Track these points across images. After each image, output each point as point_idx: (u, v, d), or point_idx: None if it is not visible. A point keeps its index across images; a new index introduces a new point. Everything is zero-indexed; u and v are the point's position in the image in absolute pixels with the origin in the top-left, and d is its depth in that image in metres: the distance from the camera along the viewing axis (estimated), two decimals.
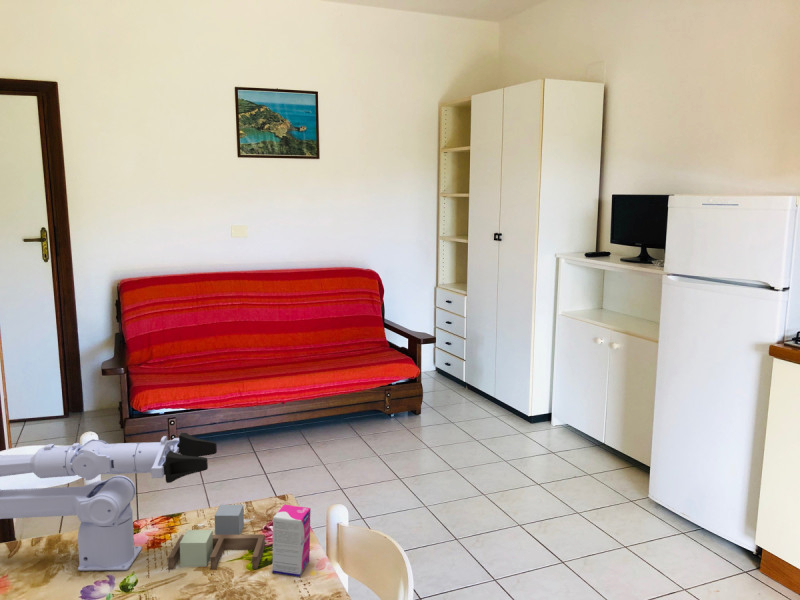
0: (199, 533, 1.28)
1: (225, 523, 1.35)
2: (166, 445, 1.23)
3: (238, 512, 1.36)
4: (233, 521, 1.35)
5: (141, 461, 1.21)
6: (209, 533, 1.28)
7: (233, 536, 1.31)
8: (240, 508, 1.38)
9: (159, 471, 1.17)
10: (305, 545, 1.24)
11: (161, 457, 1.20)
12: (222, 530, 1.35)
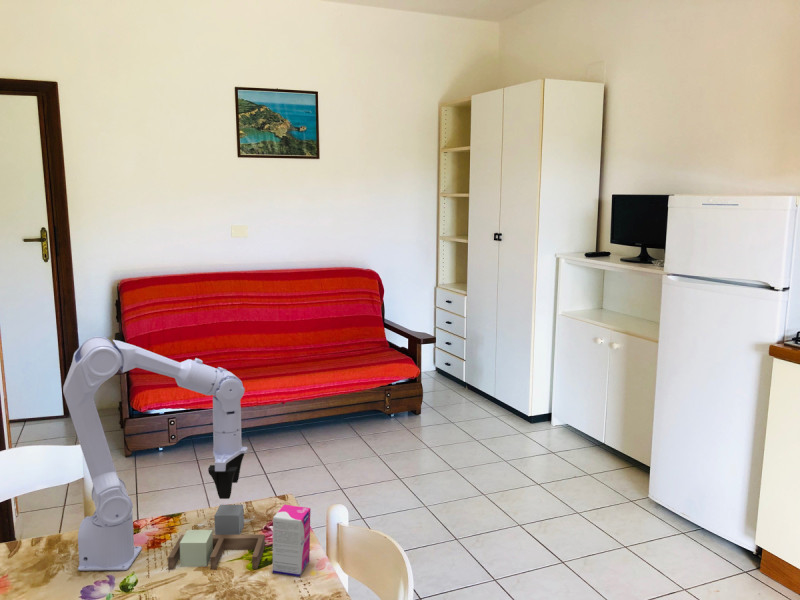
0: (199, 533, 1.28)
1: (225, 523, 1.35)
2: None
3: (238, 512, 1.36)
4: (233, 521, 1.35)
5: (226, 438, 1.32)
6: (209, 533, 1.28)
7: (233, 536, 1.31)
8: (240, 508, 1.38)
9: (221, 469, 1.28)
10: (305, 545, 1.24)
11: None
12: (222, 530, 1.35)
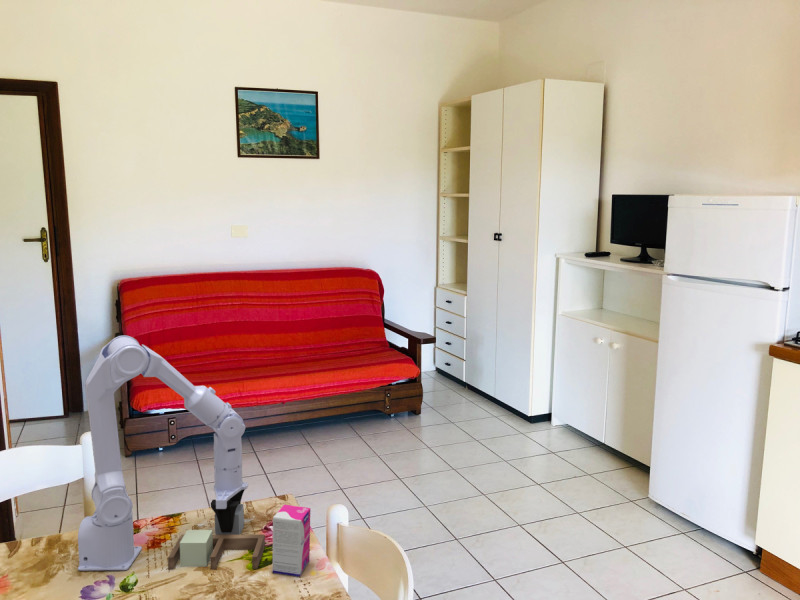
0: (199, 533, 1.28)
1: None
2: None
3: (238, 511, 1.36)
4: None
5: (227, 475, 1.33)
6: (209, 533, 1.28)
7: (233, 536, 1.31)
8: (240, 507, 1.38)
9: (222, 506, 1.30)
10: (305, 545, 1.24)
11: None
12: None
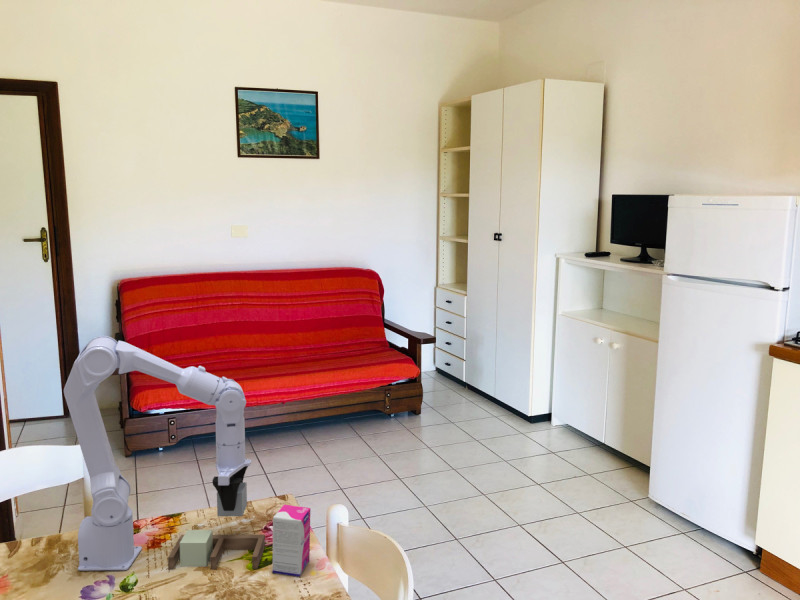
0: (199, 533, 1.28)
1: None
2: None
3: (241, 490, 1.31)
4: (236, 498, 1.30)
5: (229, 451, 1.28)
6: (209, 533, 1.28)
7: (233, 536, 1.31)
8: (243, 486, 1.33)
9: (225, 483, 1.24)
10: (305, 545, 1.24)
11: None
12: None
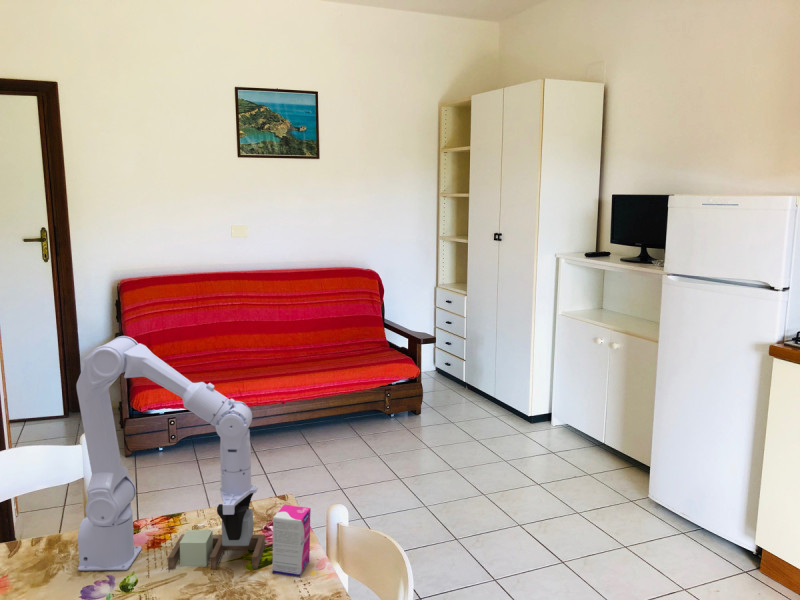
0: (199, 533, 1.28)
1: None
2: None
3: (247, 517, 1.25)
4: (242, 527, 1.24)
5: (235, 478, 1.22)
6: (209, 533, 1.28)
7: None
8: (249, 513, 1.27)
9: (229, 512, 1.18)
10: (305, 545, 1.24)
11: None
12: None
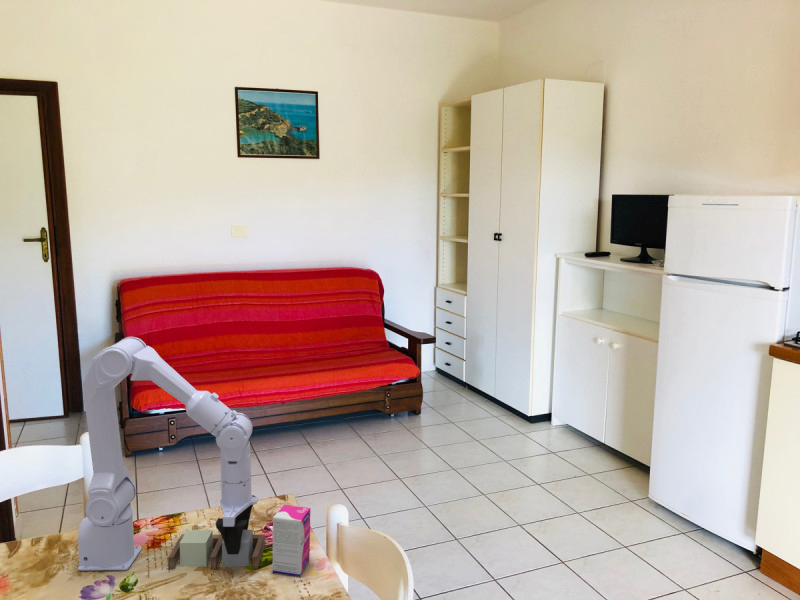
0: (199, 533, 1.28)
1: None
2: None
3: (247, 538, 1.26)
4: (242, 548, 1.25)
5: (235, 489, 1.22)
6: (209, 533, 1.28)
7: None
8: (249, 534, 1.28)
9: (230, 524, 1.19)
10: (305, 545, 1.24)
11: None
12: (230, 558, 1.25)
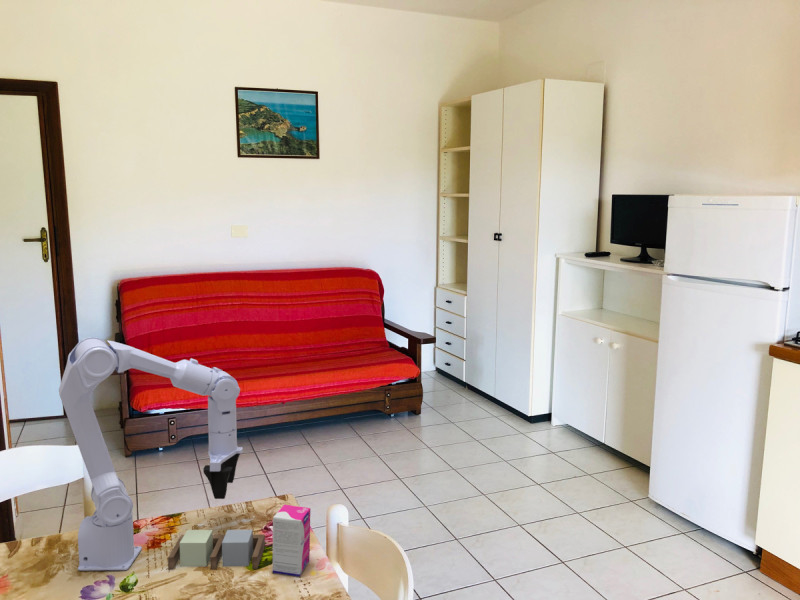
0: (199, 533, 1.28)
1: (233, 550, 1.24)
2: None
3: (247, 538, 1.26)
4: (242, 548, 1.25)
5: (221, 439, 1.32)
6: (209, 533, 1.28)
7: None
8: (249, 534, 1.28)
9: (216, 469, 1.28)
10: (305, 545, 1.24)
11: None
12: (230, 558, 1.25)
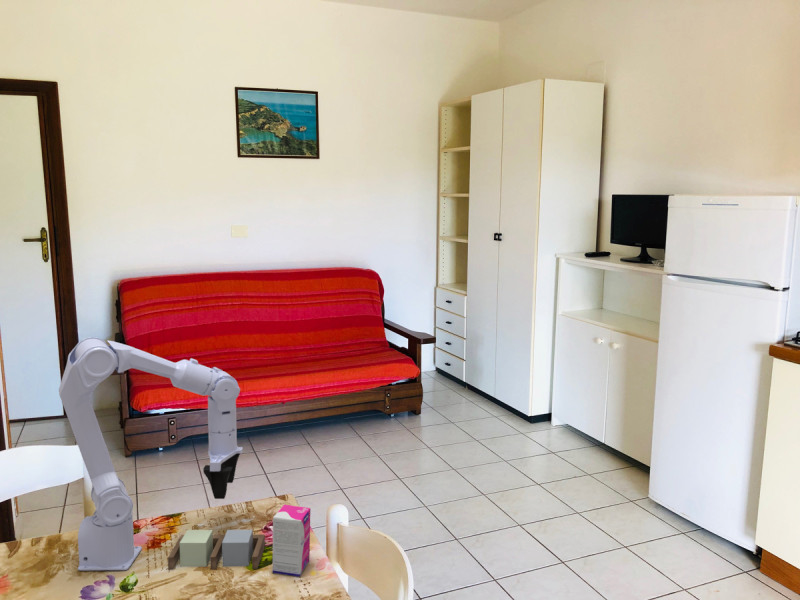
0: (199, 533, 1.28)
1: (233, 550, 1.24)
2: None
3: (247, 538, 1.26)
4: (242, 548, 1.25)
5: (221, 438, 1.32)
6: (209, 533, 1.28)
7: None
8: (249, 534, 1.28)
9: (216, 469, 1.28)
10: (305, 545, 1.24)
11: None
12: (230, 558, 1.25)
